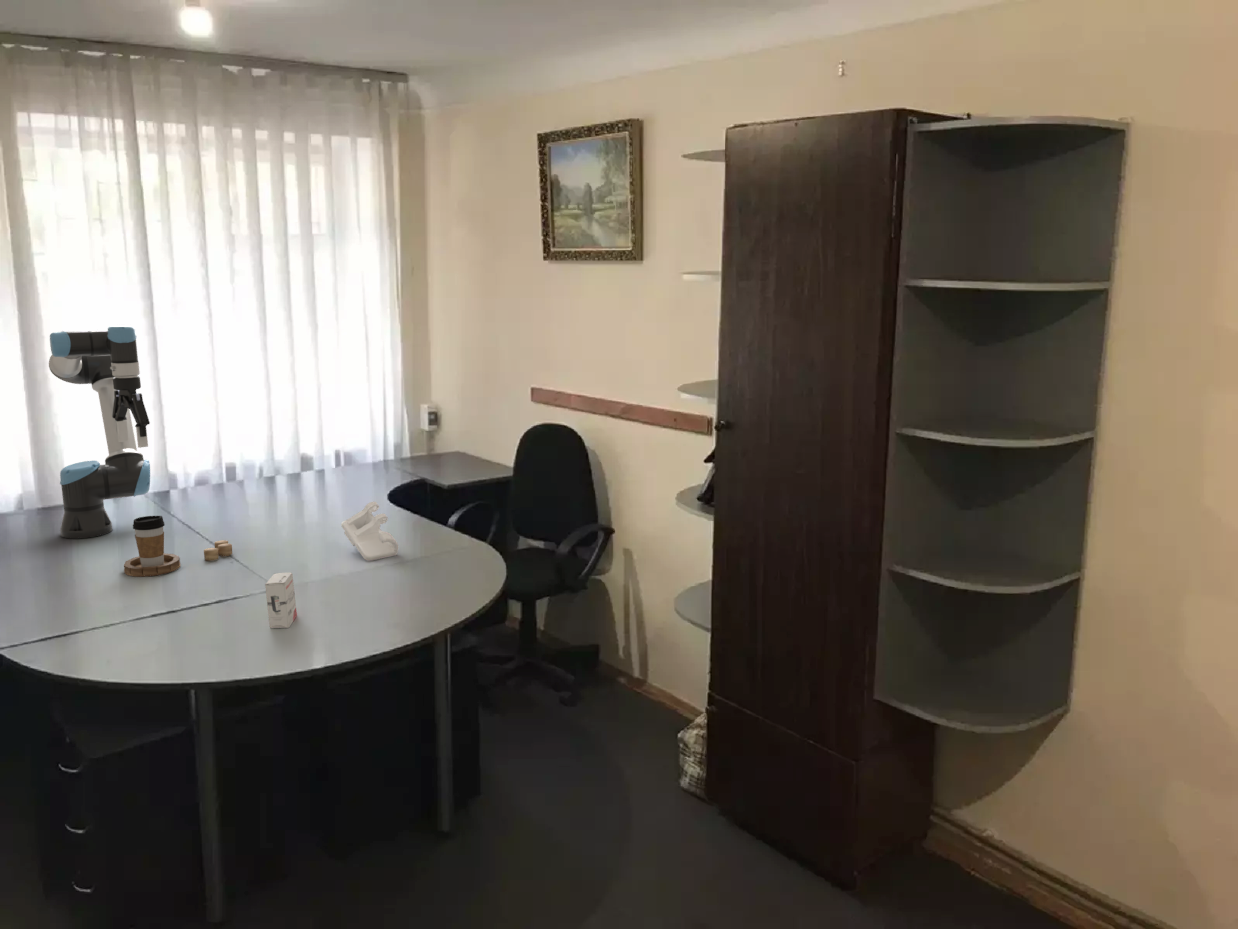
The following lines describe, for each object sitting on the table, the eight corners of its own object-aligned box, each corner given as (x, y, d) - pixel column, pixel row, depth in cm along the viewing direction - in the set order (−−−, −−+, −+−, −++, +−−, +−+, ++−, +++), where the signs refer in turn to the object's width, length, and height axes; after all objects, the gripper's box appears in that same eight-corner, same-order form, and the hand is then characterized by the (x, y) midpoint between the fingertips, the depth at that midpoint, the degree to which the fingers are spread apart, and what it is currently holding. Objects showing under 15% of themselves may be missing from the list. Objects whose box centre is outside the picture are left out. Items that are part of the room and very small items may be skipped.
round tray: (115, 569, 283) (114, 561, 282) (166, 557, 294) (165, 550, 293) (138, 580, 273) (137, 572, 273) (189, 567, 284) (189, 560, 284)
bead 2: (212, 551, 300) (211, 542, 299) (224, 548, 303) (223, 539, 303) (219, 554, 298) (219, 544, 297) (231, 551, 301) (230, 541, 300)
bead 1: (202, 559, 293) (201, 549, 292) (214, 556, 296) (213, 547, 295) (208, 562, 290) (207, 552, 290) (221, 558, 293) (220, 549, 293)
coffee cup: (156, 572, 278) (151, 522, 275) (130, 570, 280) (125, 520, 277) (174, 563, 286) (170, 514, 283) (149, 561, 288) (144, 513, 285)
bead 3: (216, 554, 297) (215, 545, 296) (228, 552, 300) (227, 542, 299) (222, 557, 295) (222, 548, 294) (235, 554, 298) (234, 545, 297)
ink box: (277, 616, 247) (273, 572, 244) (297, 615, 247) (294, 571, 245) (268, 629, 238) (264, 583, 236) (288, 628, 239) (285, 583, 236)
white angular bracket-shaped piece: (396, 567, 302) (404, 535, 295) (363, 575, 294) (370, 543, 287) (367, 527, 312) (374, 496, 306) (335, 533, 305) (341, 502, 298)
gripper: (96, 374, 300) (103, 440, 305) (131, 380, 284) (139, 451, 289) (120, 371, 306) (127, 437, 310) (157, 378, 290) (163, 447, 294)
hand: (133, 444), depth 300 cm, fingers open, 13 cm apart
